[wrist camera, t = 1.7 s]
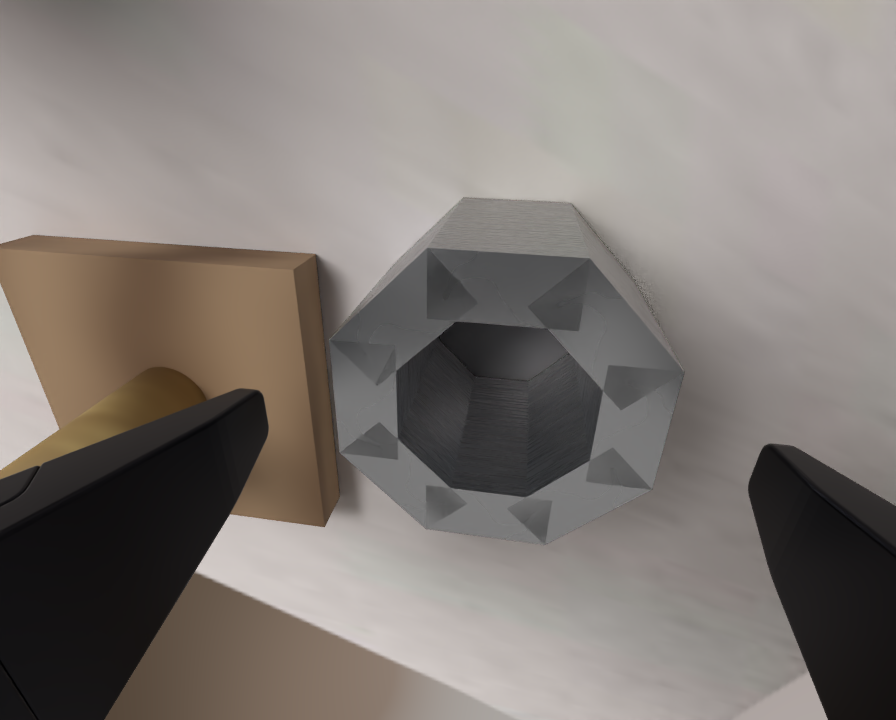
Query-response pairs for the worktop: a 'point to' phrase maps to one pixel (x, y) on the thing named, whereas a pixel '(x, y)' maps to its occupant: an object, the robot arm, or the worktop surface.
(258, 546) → the worktop surface
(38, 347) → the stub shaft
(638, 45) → the worktop surface
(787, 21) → the worktop surface
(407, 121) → the worktop surface
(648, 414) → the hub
